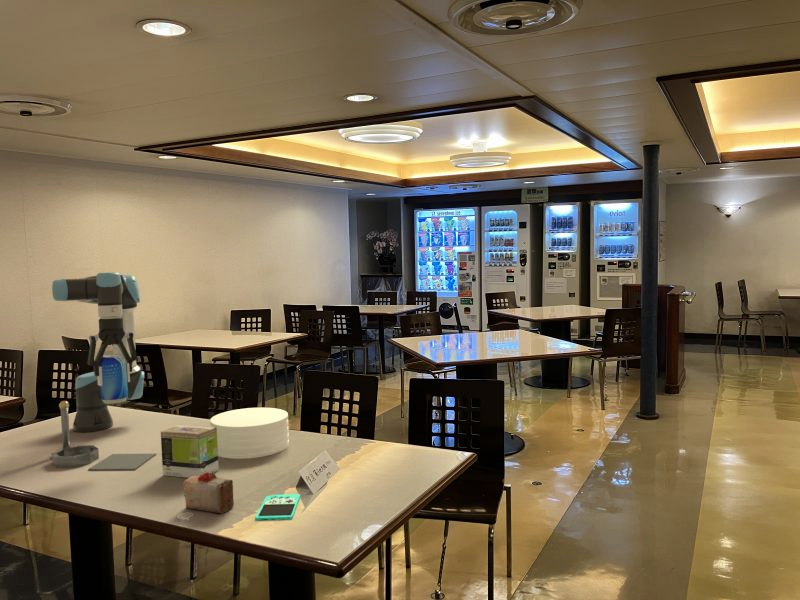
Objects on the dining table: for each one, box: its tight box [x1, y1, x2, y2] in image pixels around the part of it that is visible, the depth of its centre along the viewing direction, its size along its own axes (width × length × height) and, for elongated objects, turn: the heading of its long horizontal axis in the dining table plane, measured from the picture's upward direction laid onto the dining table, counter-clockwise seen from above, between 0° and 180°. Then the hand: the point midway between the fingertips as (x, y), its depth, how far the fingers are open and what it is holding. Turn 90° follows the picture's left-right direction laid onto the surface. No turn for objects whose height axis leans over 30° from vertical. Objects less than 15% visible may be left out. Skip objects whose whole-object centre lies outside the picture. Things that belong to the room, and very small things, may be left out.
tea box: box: [160, 423, 219, 479], centre depth 200 cm, size 15×10×15 cm
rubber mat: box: [87, 453, 157, 471], centre depth 212 cm, size 16×16×1 cm
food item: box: [182, 471, 235, 514], centre depth 171 cm, size 14×8×10 cm, turn 68°
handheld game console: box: [255, 493, 301, 521], centre depth 170 cm, size 10×16×1 cm, turn 1°
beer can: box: [99, 353, 128, 405], centre depth 210 cm, size 8×8×16 cm
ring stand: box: [51, 400, 100, 469], centre depth 217 cm, size 18×18×20 cm
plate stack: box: [209, 407, 290, 460], centre depth 227 cm, size 28×28×12 cm
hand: (114, 383), depth 211 cm, fingers closed on beer can, 8 cm apart
